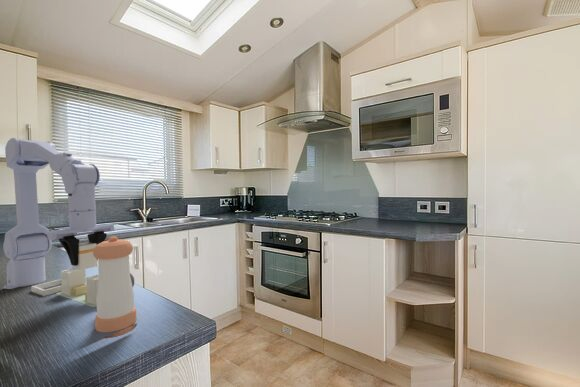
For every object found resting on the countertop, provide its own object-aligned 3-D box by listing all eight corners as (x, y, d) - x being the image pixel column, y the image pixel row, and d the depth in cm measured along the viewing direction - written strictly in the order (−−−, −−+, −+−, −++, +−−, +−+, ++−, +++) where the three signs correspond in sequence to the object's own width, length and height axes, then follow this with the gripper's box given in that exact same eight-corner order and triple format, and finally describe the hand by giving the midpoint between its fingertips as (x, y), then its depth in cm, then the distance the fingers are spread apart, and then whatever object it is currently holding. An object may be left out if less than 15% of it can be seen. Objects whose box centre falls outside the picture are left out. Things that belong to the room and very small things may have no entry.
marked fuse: (72, 268, 75) (71, 245, 74) (89, 264, 78) (88, 242, 78) (80, 270, 73) (79, 246, 72) (97, 266, 76) (96, 243, 76)
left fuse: (61, 293, 78) (60, 271, 78) (78, 288, 81) (77, 267, 81) (69, 295, 76) (68, 272, 76) (86, 290, 79) (85, 268, 79)
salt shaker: (91, 341, 55) (87, 241, 54) (99, 325, 62) (95, 235, 61) (135, 333, 58) (131, 237, 57) (138, 318, 65) (134, 232, 64)
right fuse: (87, 301, 72) (86, 277, 71) (104, 296, 75) (103, 273, 75) (95, 304, 70) (94, 280, 69) (112, 298, 73) (112, 275, 73)
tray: (31, 295, 80) (31, 286, 80) (63, 287, 86) (63, 278, 86) (43, 300, 76) (43, 290, 76) (76, 291, 83) (75, 282, 83)
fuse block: (55, 298, 78) (55, 286, 78) (80, 290, 83) (80, 279, 83) (94, 312, 68) (93, 298, 68) (119, 303, 73) (119, 290, 73)
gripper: (56, 213, 67) (58, 272, 67) (119, 208, 79) (121, 258, 80) (42, 213, 70) (45, 268, 71) (105, 208, 83) (107, 255, 83)
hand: (84, 262), depth 75 cm, fingers closed on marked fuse, 4 cm apart
